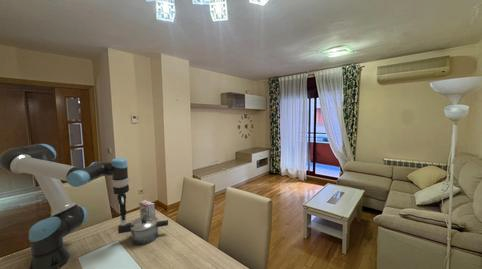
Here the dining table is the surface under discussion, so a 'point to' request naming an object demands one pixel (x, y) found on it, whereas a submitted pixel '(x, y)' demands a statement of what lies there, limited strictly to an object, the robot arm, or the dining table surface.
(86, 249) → the dining table surface
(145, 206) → the candy bar box
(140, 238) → the pot
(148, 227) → the lid
